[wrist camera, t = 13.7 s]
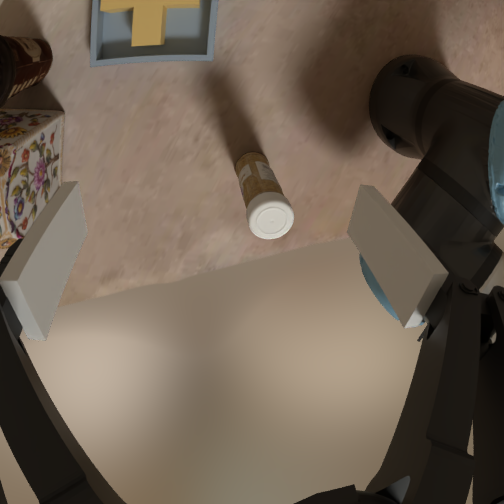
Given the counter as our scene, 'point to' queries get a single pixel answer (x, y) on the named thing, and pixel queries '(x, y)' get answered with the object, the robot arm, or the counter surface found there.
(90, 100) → the counter surface
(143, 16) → the collar
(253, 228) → the sprinkles bottle
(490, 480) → the robot arm
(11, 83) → the coffee cup
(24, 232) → the decorative jar
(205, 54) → the tray
